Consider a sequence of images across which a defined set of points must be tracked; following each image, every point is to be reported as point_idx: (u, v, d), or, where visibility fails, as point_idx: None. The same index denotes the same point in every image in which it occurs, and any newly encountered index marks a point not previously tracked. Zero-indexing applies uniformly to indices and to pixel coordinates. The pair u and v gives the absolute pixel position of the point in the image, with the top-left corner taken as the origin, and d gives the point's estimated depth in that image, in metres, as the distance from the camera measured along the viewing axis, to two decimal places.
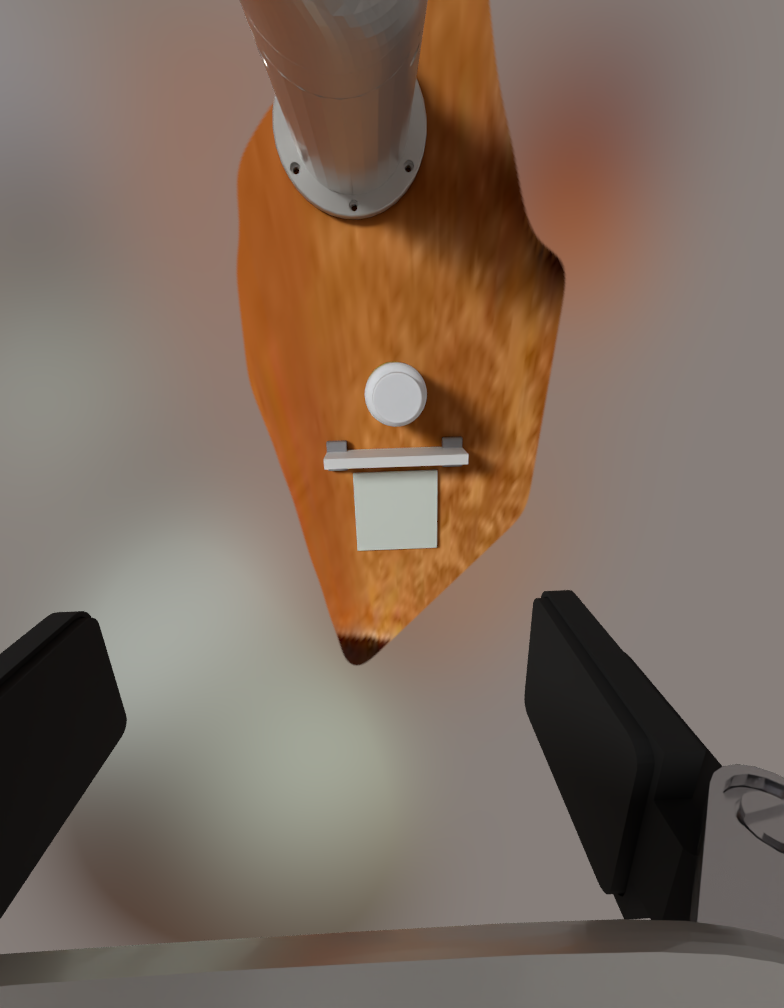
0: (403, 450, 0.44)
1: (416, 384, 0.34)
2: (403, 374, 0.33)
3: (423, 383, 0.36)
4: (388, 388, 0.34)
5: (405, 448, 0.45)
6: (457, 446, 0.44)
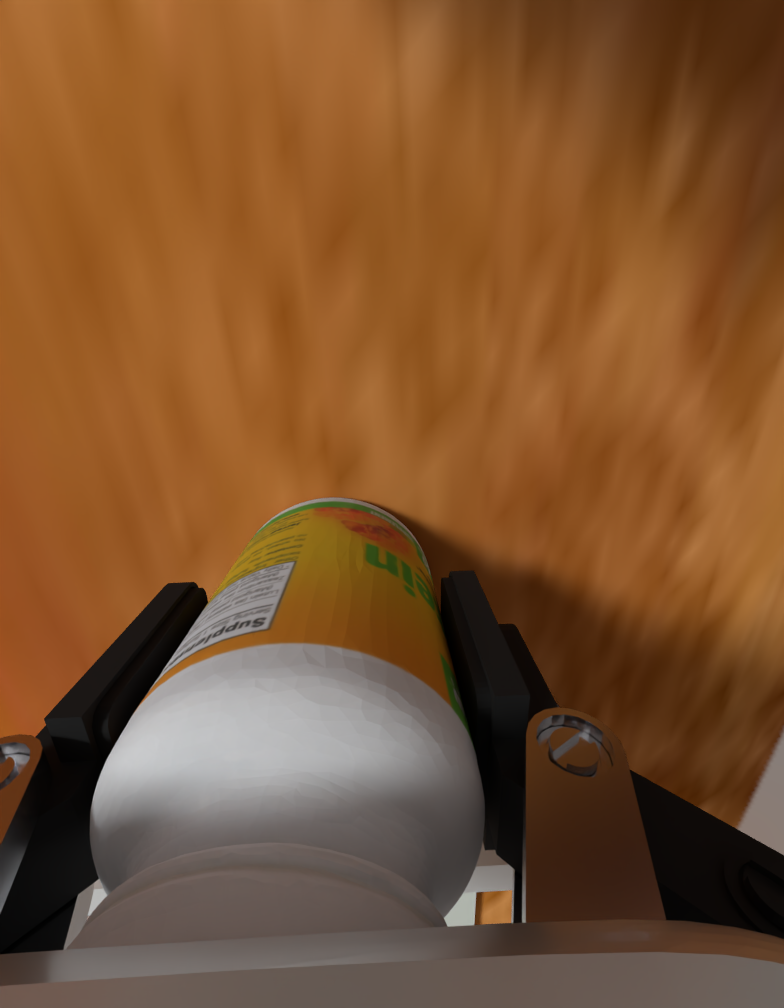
0: None
1: None
2: None
3: (471, 793, 0.05)
4: None
5: None
6: None
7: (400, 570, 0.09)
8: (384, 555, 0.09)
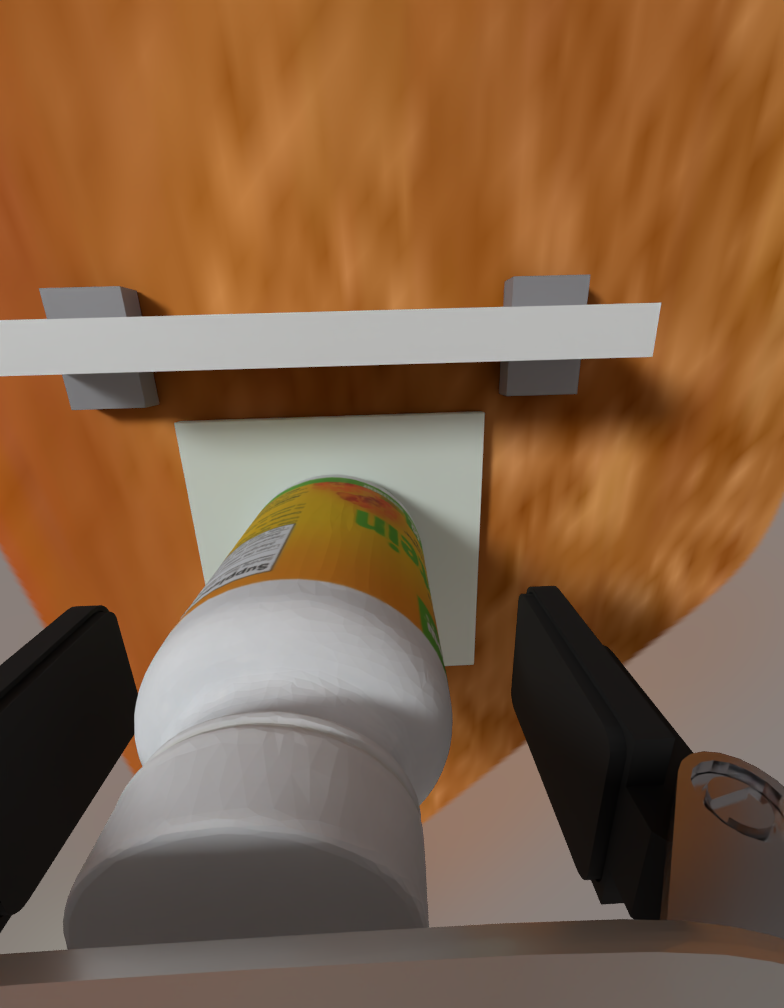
0: None
1: (380, 879, 0.04)
2: (268, 831, 0.04)
3: (436, 696, 0.07)
4: (162, 911, 0.04)
5: None
6: None
7: (386, 531, 0.10)
8: (373, 519, 0.10)
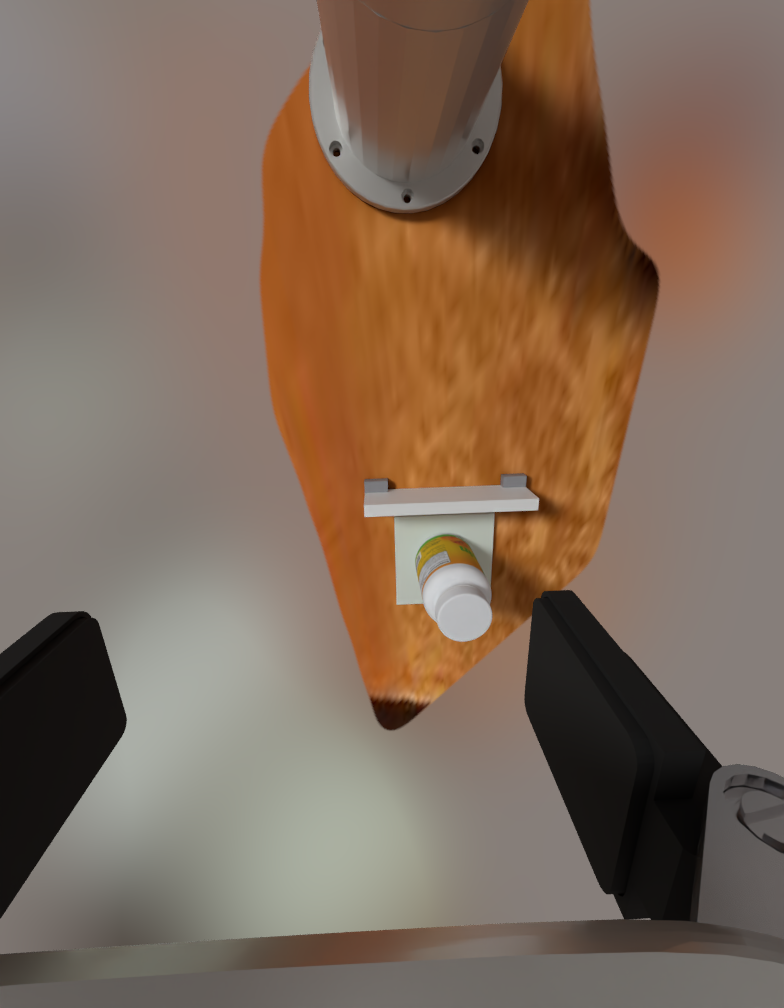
0: (456, 491, 0.37)
1: (485, 603, 0.30)
2: (471, 595, 0.30)
3: (488, 585, 0.33)
4: (454, 610, 0.30)
5: (457, 487, 0.38)
6: (520, 485, 0.37)
7: (468, 551, 0.36)
8: (464, 548, 0.36)
